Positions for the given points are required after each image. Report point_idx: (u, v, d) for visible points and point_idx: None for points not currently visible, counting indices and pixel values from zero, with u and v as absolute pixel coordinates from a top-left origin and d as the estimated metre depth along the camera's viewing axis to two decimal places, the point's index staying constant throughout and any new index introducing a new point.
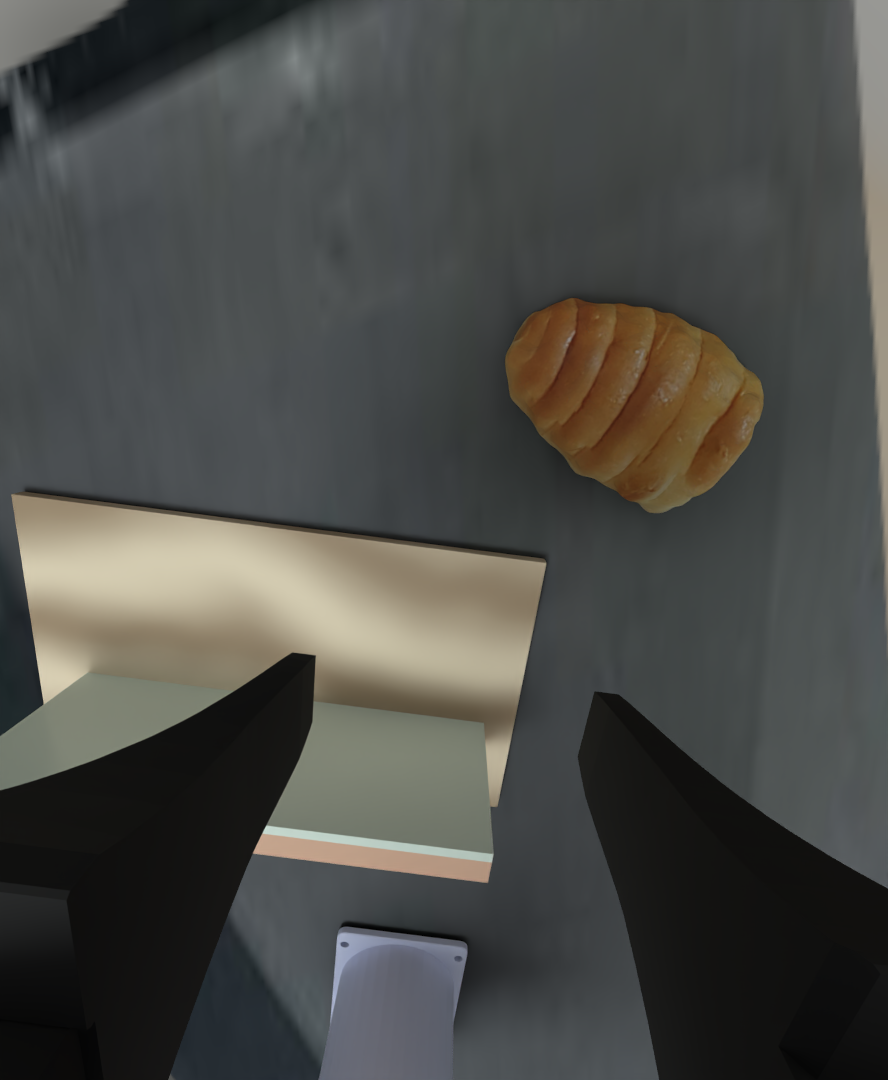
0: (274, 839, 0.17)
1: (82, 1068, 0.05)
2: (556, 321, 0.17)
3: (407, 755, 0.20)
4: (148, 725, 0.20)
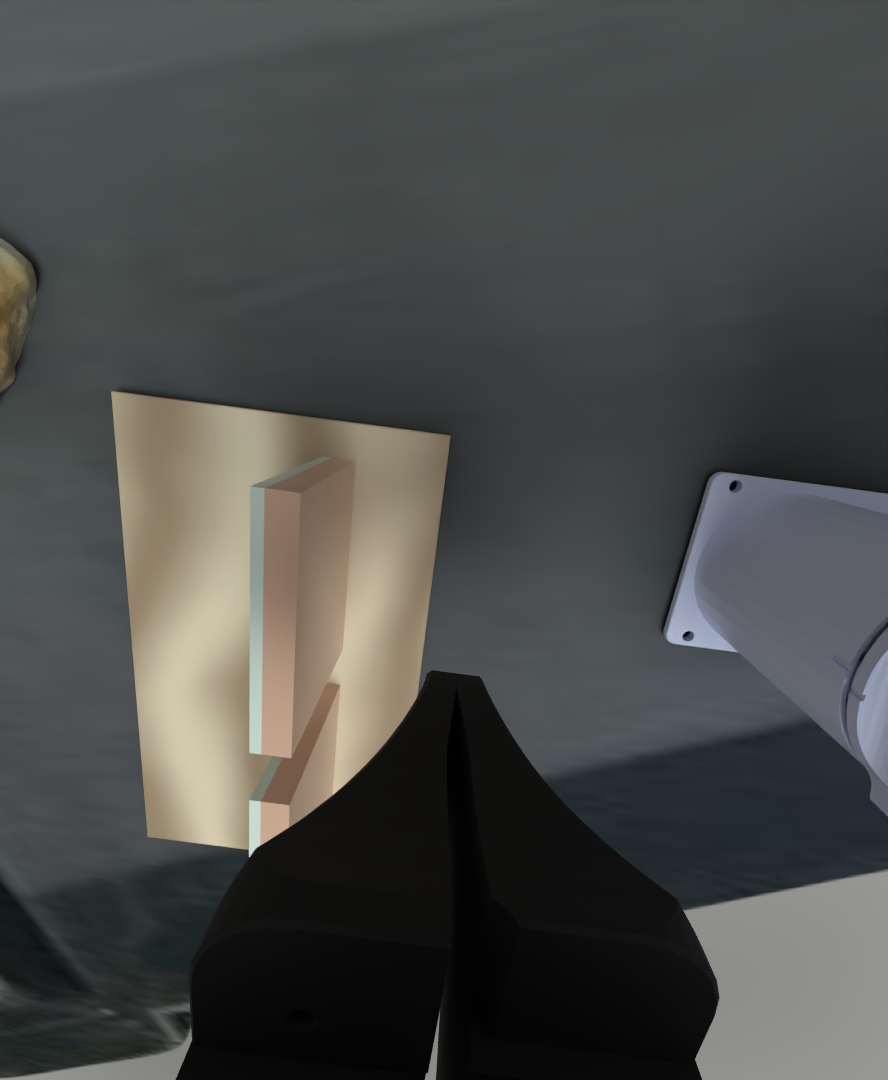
0: (267, 726, 0.15)
1: None
2: None
3: None
4: None
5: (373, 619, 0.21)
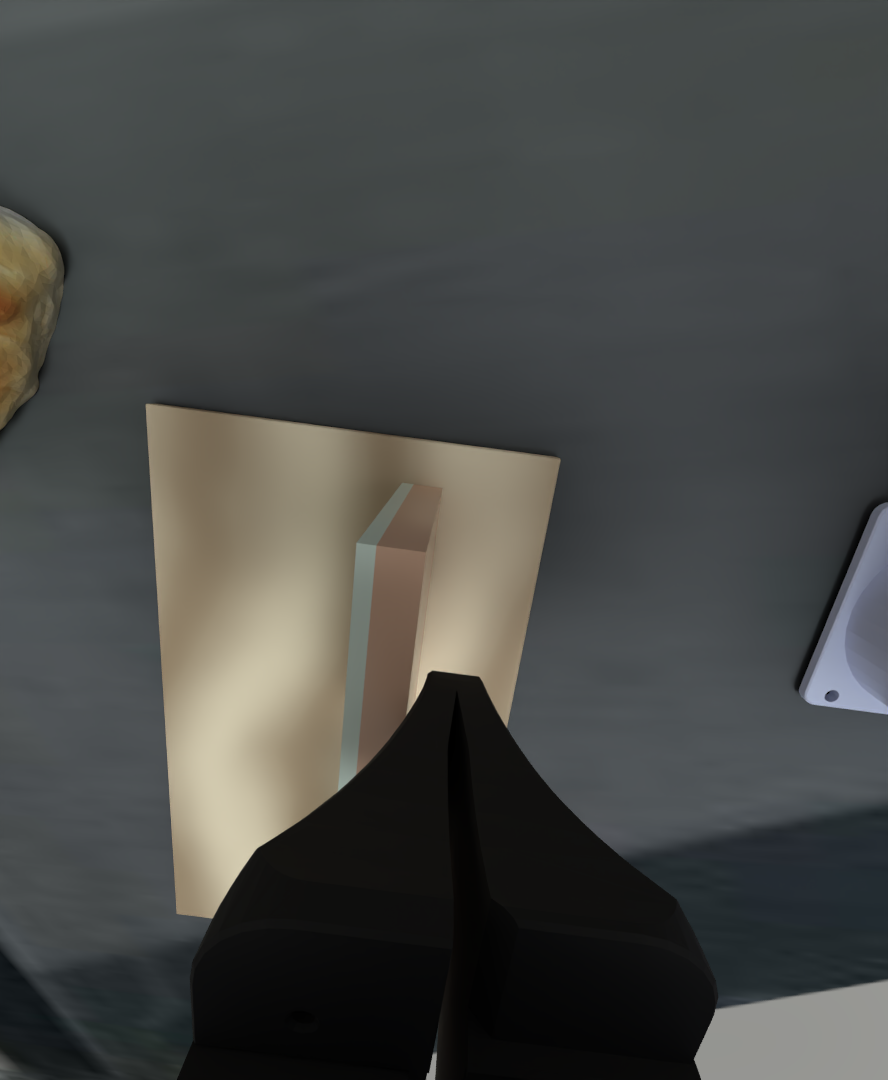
0: None
1: None
2: None
3: None
4: None
5: None
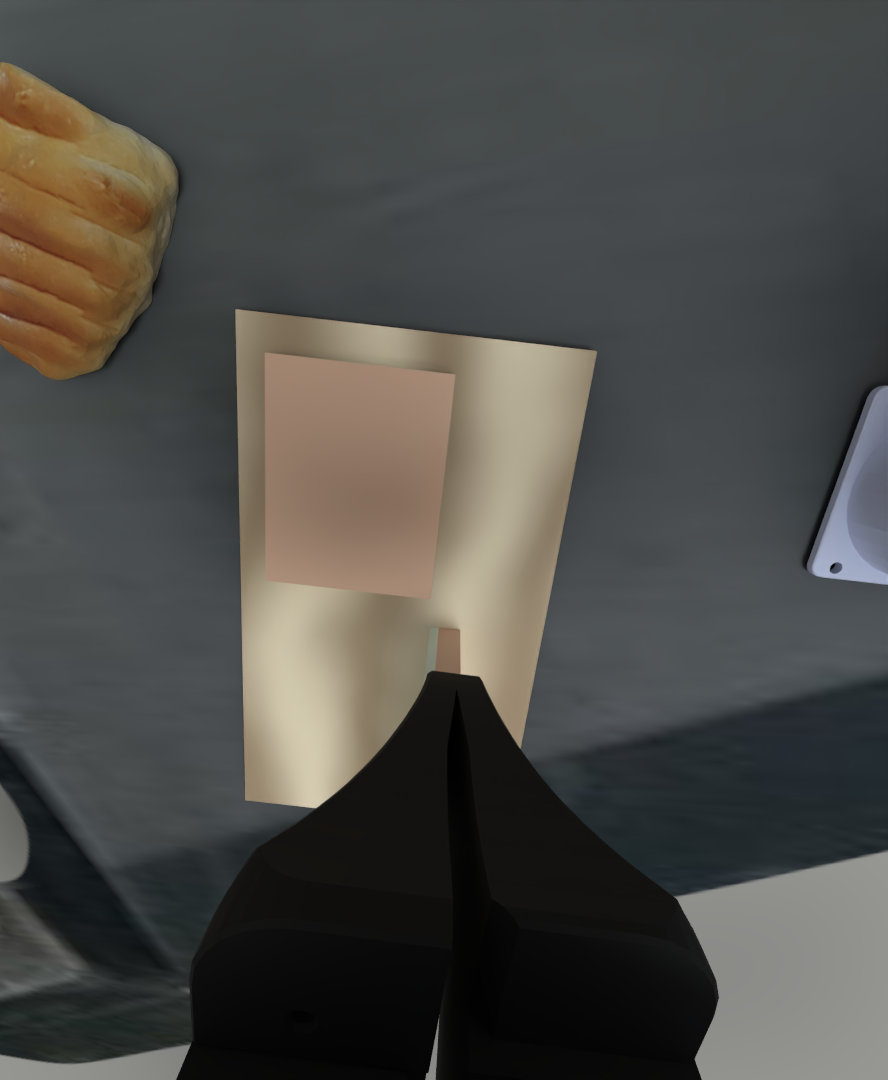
0: None
1: None
2: None
3: None
4: None
5: (500, 556, 0.20)
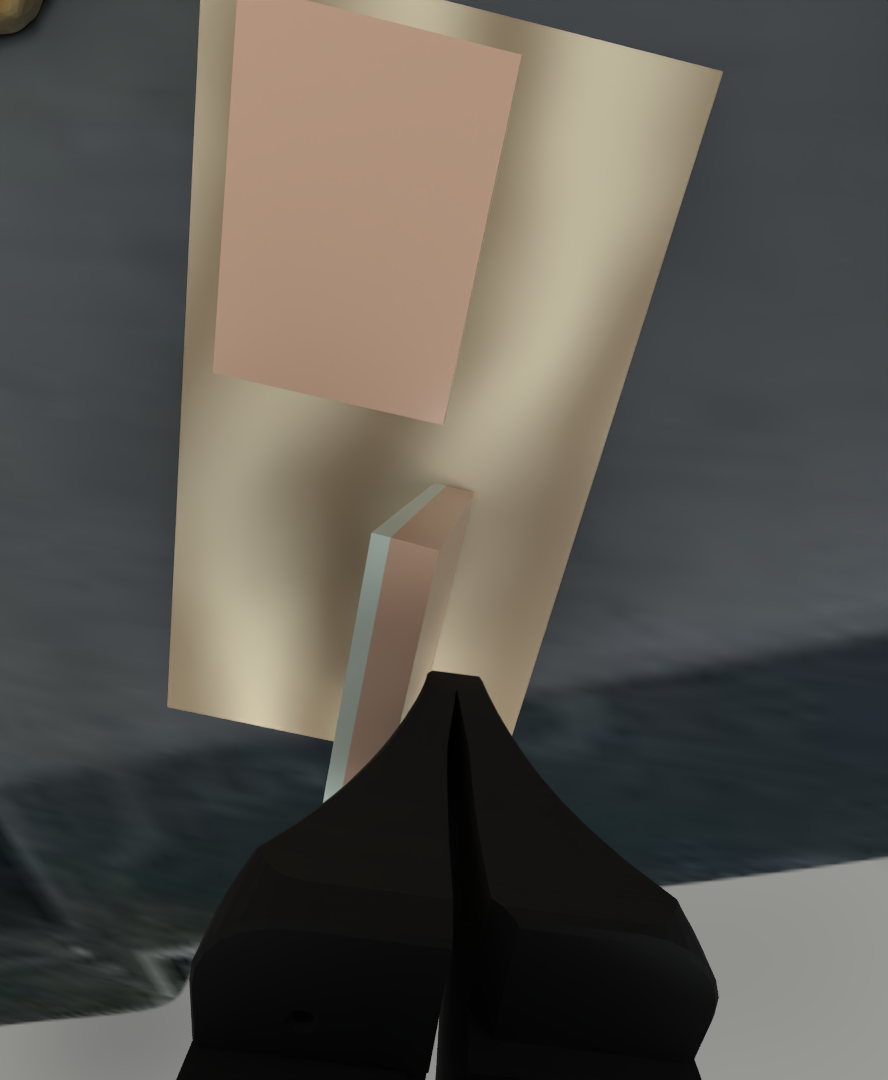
0: None
1: None
2: None
3: None
4: None
5: (542, 387, 0.15)
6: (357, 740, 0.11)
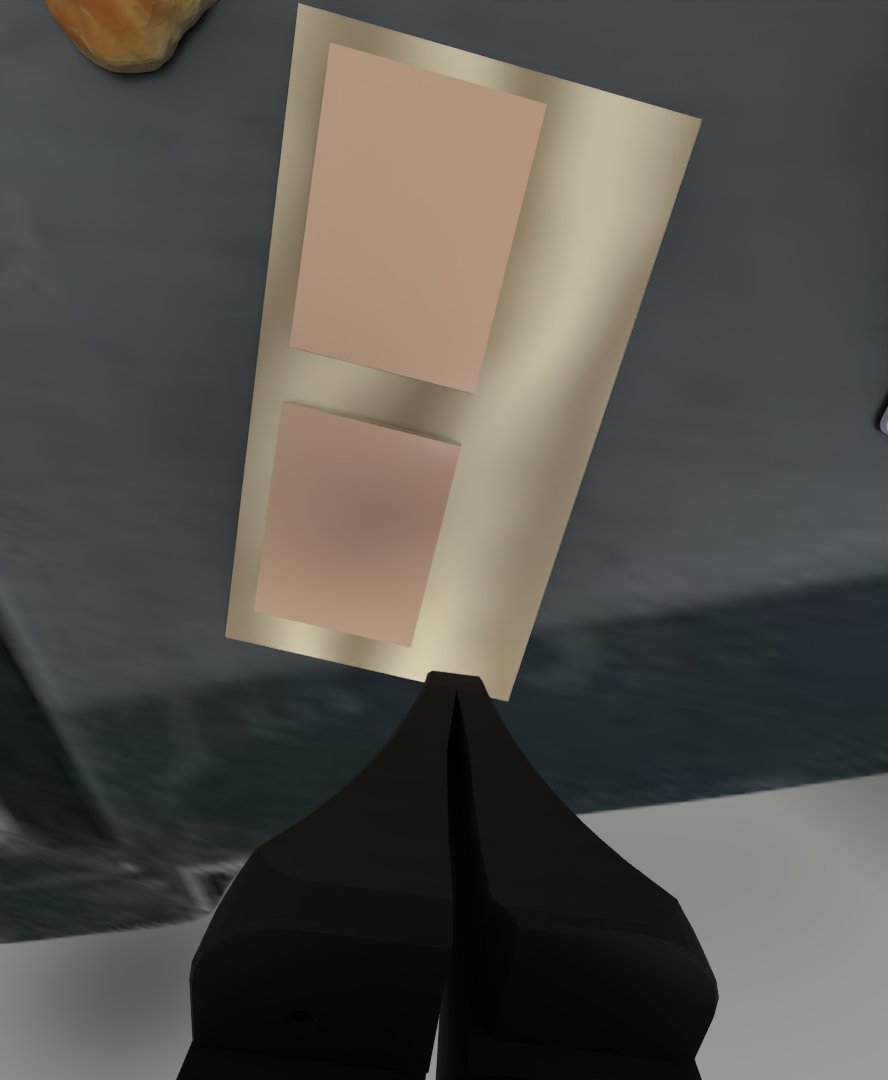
0: None
1: None
2: None
3: None
4: None
5: (554, 366, 0.18)
6: None
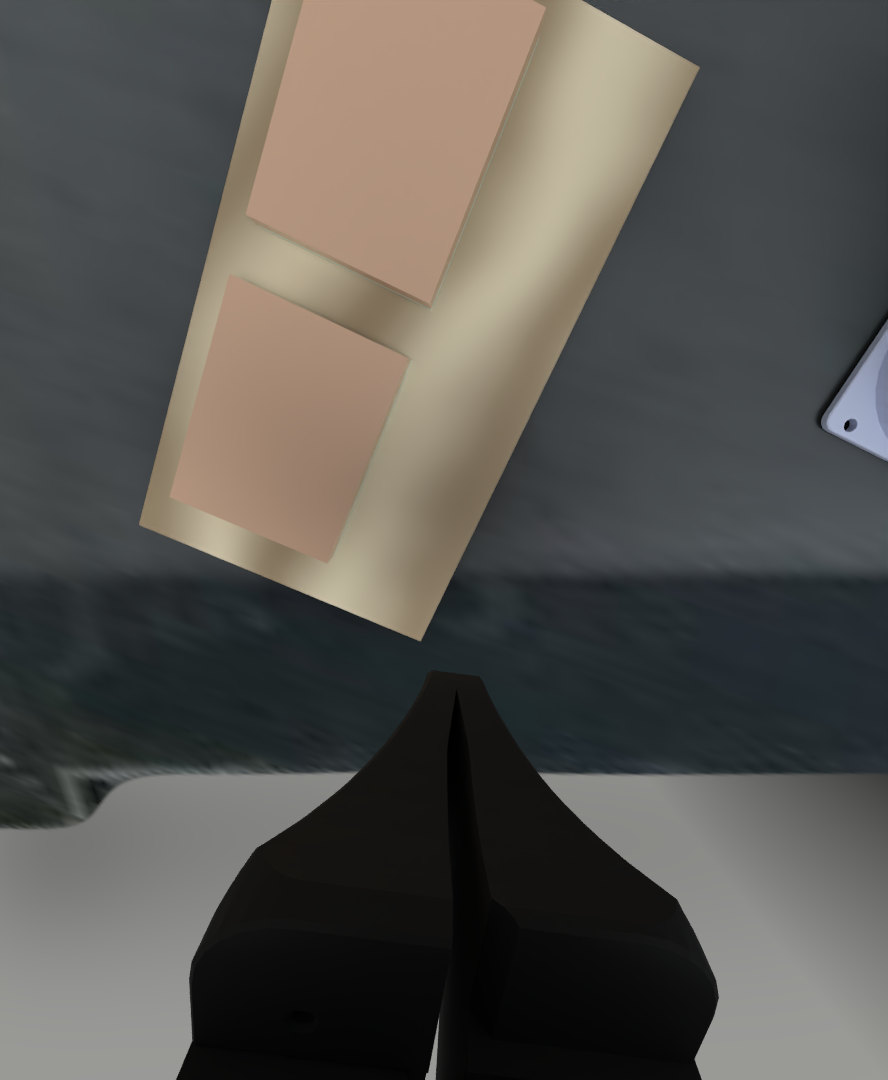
0: None
1: None
2: None
3: None
4: None
5: (517, 297, 0.18)
6: None
